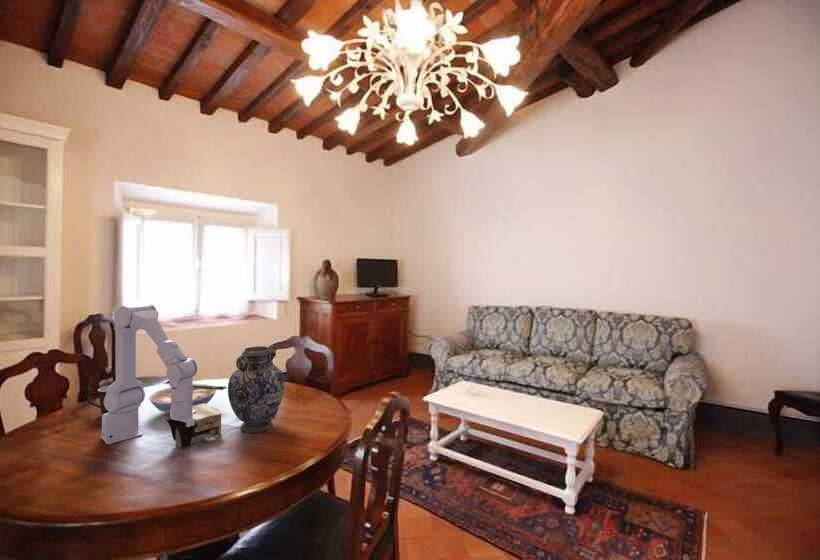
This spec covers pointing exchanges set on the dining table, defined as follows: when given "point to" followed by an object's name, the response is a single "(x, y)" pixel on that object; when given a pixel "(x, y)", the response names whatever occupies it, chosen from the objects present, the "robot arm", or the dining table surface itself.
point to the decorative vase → (256, 388)
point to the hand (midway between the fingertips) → (181, 442)
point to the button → (211, 437)
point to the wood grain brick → (194, 439)
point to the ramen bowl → (200, 396)
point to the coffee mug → (101, 395)
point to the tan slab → (207, 418)
